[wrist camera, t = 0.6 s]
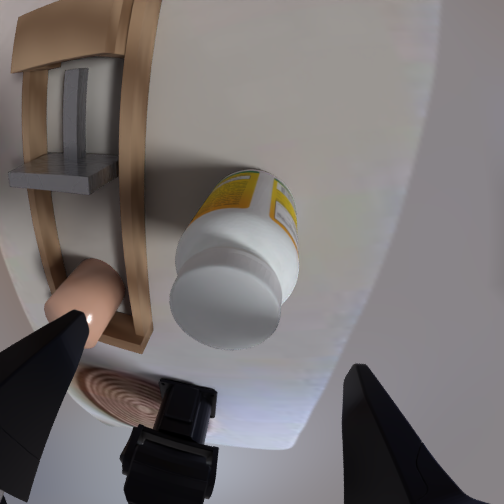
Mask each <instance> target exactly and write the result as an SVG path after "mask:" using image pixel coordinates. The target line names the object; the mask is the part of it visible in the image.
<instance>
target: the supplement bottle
mask: <svg viewBox="0 0 504 504" xmlns="http://www.w3.org/2000/svg"><path fill="white" fill-rule="evenodd" d="M175 264H176V271H177V275H178V276H177V278H176V280H175V282H174V284H173V287H172V289H171V293H170V308H171V312H172V315H173V317H174V319H175V321H176V322H177V324H178V325H179V326H180V327H181V328H182V330H183V331H184V332H186V333H187V334H188V335H189V336H191V337H192V338H194V339H195V340H197V341H198V342H200V343H202V344H205V345H208V346H210V347H214V348H218V349H224V350H241V349H247V348H251V347H254V346H256V345H259V344H261V343H262V342H264V341H265V340H267V339H268V338H269V337H270V336H271V335H272V334H273V333H274V331H275V330H276V328H277V326H278V323H279V320H280V313H281V305H282V304H283V303H284V302H285V301H286V300H287V298H288V297H289V296H290V294H291V293H292V291H293V289H294V287H295V285H296V282H297V278H298V273H299V252H298V236H297V217H296V207H295V202H294V199H293V196H292V194H291V192H290V190H289V189H288V187H287V186H286V185H285V184H284V183H283V182H282V181H281V180H280V179H279V178H277V177H276V176H274V175H272V174H270V173H268V172H265V171H261V170H255V169H248V170H242V171H238V172H235V173H232V174H230V175H228V176H227V177H225V178H224V179H222V180H221V181H220V182H219V183H218V184H217V185H216V187H215V188H214V189H213V191H212V192H211V194H210V195H209V197H208V198H207V200H206V201H205V202H204V204H203V205H202V207H201V208H200V209H199V211H198V212H197V214H196V215H195V217H194V218H193V219H192V221H191V222H190V224H189V226H188V227H187V228H186V230H185V231H184V233H183V235H182V237H181V238H180V241H179V243H178V246H177V250H176V257H175Z"/></svg>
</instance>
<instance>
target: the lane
mask: <svg viewBox="0 0 504 504" xmlns="http://www.w3.org/2000/svg"><path fill="white" fill-rule="evenodd" d="M161 2H162V0H59V1H57V2H54V3H51V4H49V5H46V6H43V7H41V8H38V9H36V10H34V11H31V12H29V13H27V14H24V15H22V16H20V17H18V22H17V27H16V33H15V40H14V47H13V54H12V64H11V73H19V72H23V86H22V139H23V155H24V164H26V163H28V162H30V161H32V160H35V159H37V158H39V157H41V156H43V155H46V154H47V130H46V106H47V82H48V70H49V69H54V68H59V67H61V62H64V61H69V60H75V59H80V58H86V57H93V56H103V57H115V58H125V59H124V68H123V78H122V89H121V103H120V123H119V191H120V212H121V226H122V238H123V249H124V259H125V267H126V275H127V283H128V290H129V297H130V303H131V310H132V316H131V315H127V314H123V313H120V312H115V314H114V315H113V317H112V319H111V320H110V322H109V323H108V325H107V327H106V328H105V330H104V332H103V333H102V335H101V337H100V338H99V340H98V341H100V342H103V343H106V344H109V345H112V346H116V347H119V348H122V349H126V350H129V351H132V352H136V353H139V354H143V351H144V349H145V347H146V345H147V343H148V341H149V338H150V336H151V334H152V332H153V322H152V314H151V305H150V295H149V284H148V271H147V257H146V238H145V206H144V168H145V137H146V119H147V105H148V93H149V82H150V73H151V64H152V57H153V49H154V42H155V36H156V29H157V23H158V18H159V12H160V7H161ZM27 191H28V198H29V204H30V210H31V215H32V221H33V226H34V231H35V235H36V240H37V244H38V248H39V252H40V256H41V260H42V264H43V267H44V271H45V274H46V278H47V281H48V285H49V288H50V291H51V294H52V295H53V293H54V292H55V291H56V290H57V289H58V288H59V286H60V285H61V284H62V283H63V282H64V281H65V280H66V279H67V275H66V271H65V267H64V263H63V258H62V254H61V249H60V244H59V239H58V234H57V229H56V223H55V217H54V211H53V204H52V196H51V191H49V190H39V189H29V188H27Z"/></svg>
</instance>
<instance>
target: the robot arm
mask: <svg viewBox="0 0 504 504" xmlns="http://www.w3.org/2000/svg"><path fill="white" fill-rule="evenodd" d="M88 336H89V326H88V322H87V319H86V316H85V314H84V312H82V311H79V310H75V309H74V310H71V311H69V312H68V313H66V314H64V315H62V316H61V317H59V318H57V319H55V320H54V321H52V322H50V323H49V324H47V325H45V326H43V327H42V328H40V329H38V330H37V331H35V332H33V333H31V334H30V335H28V336H26V337H25V338H23V339H21V340H20V341H18V342H16V343H15V344H13V345H11V346H10V347H8V348H7V349H5V350H3V351H2V352H0V504H7V503H6V500H5V497H4V495H3V494H4V492H6V493H8V494H10V495H12V496H14V497H16V498H18V499H20V500H23V501H25V502H27V501H28V499H29V495H30V491H31V487H32V484H33V481H34V478H35V474H36V471H37V468H38V465H39V462H40V458H41V456H42V453H43V450H44V447H45V444H46V442H47V439H48V436H49V434H50V431H51V428H52V426H53V423H54V421H55V418H56V416H57V413H58V411H59V408H60V406H61V403H62V401H63V399H64V396H65V394H66V392H67V390H68V387H69V385H70V383H71V381H72V379H73V376H74V374H75V372H76V369H77V367H78V364H79V361H80V358H81V355H82V352H83V350H84V347H85V344H86V341H87V339H88ZM159 386H160V391H161V396H162V403H161V406H160V409H159V412H158V415H157V418H156V421H155V424H154V427H153V429H151V428H148V427H145V426H144V425H142V424H139V425H138V427H133V430H132V433H131V436H130V438H129V440H128V442H127V444H126V446H125V448H124V450H123V451H122V453H121V455H120V461H121V462H122V468H123V470H122V474H124V475H126V476H127V478H126V482H125V485H124V493H125V496H126V500H127V502H128V504H203V502H204V498H206V499H209V498H210V497H211V494H212V491H213V488H214V484H215V478H216V469H217V460H218V450H219V448H218V447H215V446H213V447H212V446H208V445H204V442H205V438H206V433H207V428H208V424H209V419H210V418H214V417H215V411H216V401H217V392H216V391H214V390H210V389H205V388H200V387H196V386H191V385H187V384H182V383H178V382H174V381H170V380H166V379H160V381H159ZM342 440H343V463H344V464H343V465H344V504H489V503H485V502H482V501H479V500H476V499H473V498H471V497H469V496H468V495H466V494H465V493H464V492H463V491H462V490H461V489H460V488H459V487H458V486H457V485H456V484H455V482H454V481H453V480H452V479H451V478H450V477H449V475H448V474H447V473H446V472H445V471H444V470H443V469H442V467H441V466H440V465H439V464H438V463H437V461H436V460H435V459H434V457H433V456H432V455H431V453H430V452H429V451H428V449H427V448H426V446H425V445H424V443H423V442H422V441H421V440H420V438H419V436H418V435H417V434H416V432H415V431H414V429H413V428H412V427H411V425H410V424H409V422H408V421H407V420H406V418H405V417H404V415H403V414H402V413H401V411H400V410H399V408H398V407H397V406H396V404H395V403H394V401H393V400H392V399H391V397H390V396H389V395H388V393H387V392H386V391H385V389H384V388H383V386H382V385H381V384H380V382H379V381H378V380H377V378H376V377H375V375H374V374H373V373H372V372H371V370H370V369H369V367H368V366H367V365H366V364H354V365H353V366H352V367H351V369H350V371H349V372H348V374H347V375H346V377H345V379H344V385H343V409H342ZM421 442H422V443H421ZM142 444H143V445H142Z"/></svg>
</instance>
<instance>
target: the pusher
mask: <svg viewBox="0 0 504 504" xmlns="http://www.w3.org/2000/svg"><path fill="white" fill-rule="evenodd" d="M87 79H88V68H79V69H72V70H67V71H65V81H64V99H63V147H64V153H48V154H46V155H43V156H41V157H39V158H37V159H35V160H32V161H30V162H28V163H26V164H24V165H22V166H20V167H18V168H16V169H14V170H12V171H10V172H8V176H9V183H10V187H18V188H29V189H39V190H49V191H58V192H67V193H76V194H85V195H90V194H92V193H93V192H95V191H96V190H98V189H99V188H101V187H102V186H104V185H105V184H107V183H108V182H110V181H111V180H113V179H114V178H116V177H118V176H119V155H102V154H86V144H85V122H86V94H87Z"/></svg>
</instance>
